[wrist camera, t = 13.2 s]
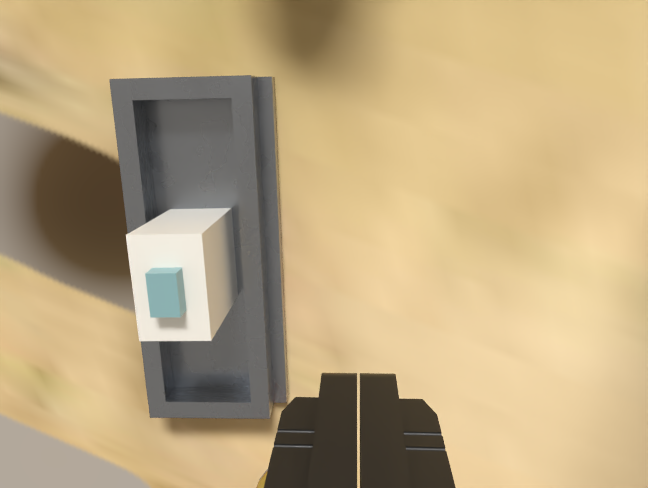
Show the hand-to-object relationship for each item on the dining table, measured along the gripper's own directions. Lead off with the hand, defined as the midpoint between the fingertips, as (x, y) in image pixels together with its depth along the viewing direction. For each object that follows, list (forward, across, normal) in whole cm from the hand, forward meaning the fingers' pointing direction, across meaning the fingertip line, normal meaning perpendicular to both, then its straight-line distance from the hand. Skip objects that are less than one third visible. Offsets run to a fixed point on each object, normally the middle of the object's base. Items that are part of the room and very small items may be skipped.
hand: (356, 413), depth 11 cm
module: (+24, +10, +3) cm, 26 cm away
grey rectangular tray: (+24, +10, +4) cm, 27 cm away
